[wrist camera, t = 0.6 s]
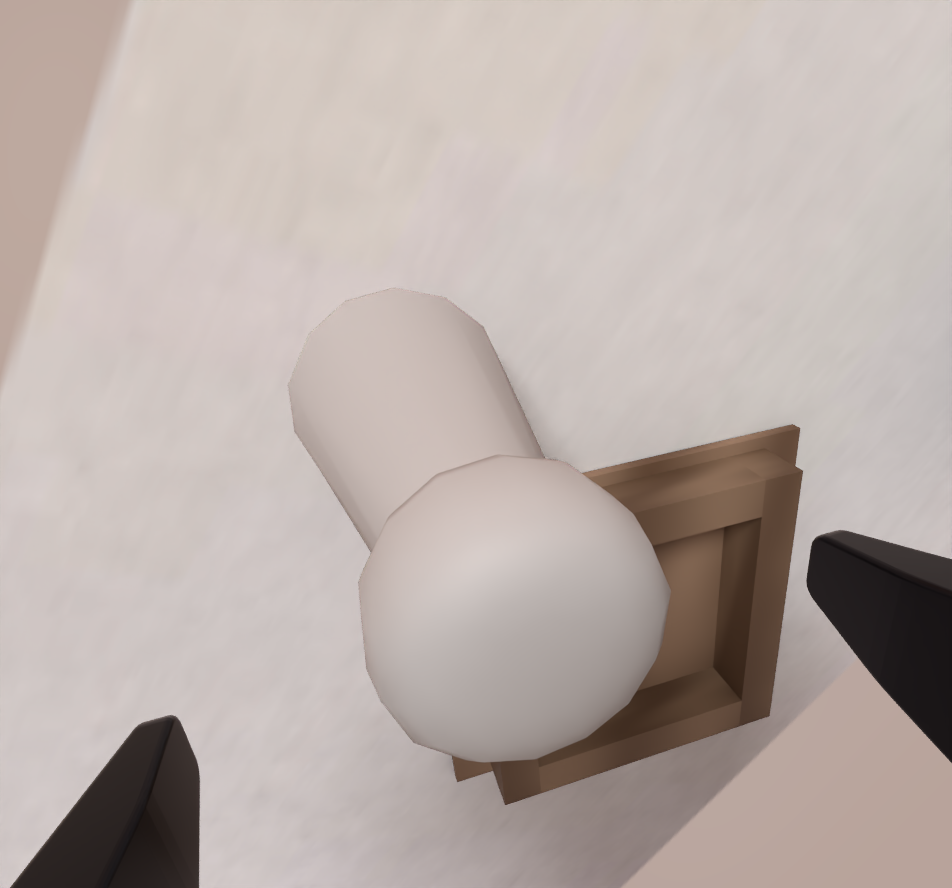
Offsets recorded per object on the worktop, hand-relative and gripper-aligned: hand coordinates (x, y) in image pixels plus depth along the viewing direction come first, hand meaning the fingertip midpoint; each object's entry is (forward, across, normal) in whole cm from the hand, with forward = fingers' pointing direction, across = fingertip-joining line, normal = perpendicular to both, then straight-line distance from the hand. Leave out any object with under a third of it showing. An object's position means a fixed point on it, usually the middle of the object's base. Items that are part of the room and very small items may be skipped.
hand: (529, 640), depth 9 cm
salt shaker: (+12, 0, 0) cm, 12 cm away
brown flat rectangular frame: (+12, -7, +11) cm, 18 cm away
